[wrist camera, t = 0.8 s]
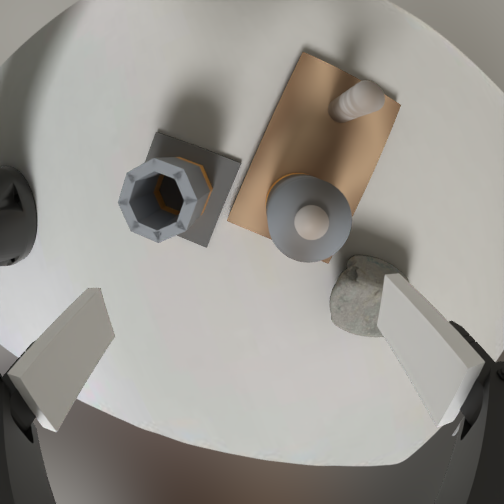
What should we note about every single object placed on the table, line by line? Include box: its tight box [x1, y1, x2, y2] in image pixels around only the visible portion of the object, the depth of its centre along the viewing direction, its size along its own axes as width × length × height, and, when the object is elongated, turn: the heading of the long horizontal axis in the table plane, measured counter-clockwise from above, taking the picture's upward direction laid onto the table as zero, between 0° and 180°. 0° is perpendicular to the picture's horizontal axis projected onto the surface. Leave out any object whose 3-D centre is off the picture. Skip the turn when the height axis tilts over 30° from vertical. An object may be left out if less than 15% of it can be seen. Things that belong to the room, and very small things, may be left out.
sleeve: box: [118, 157, 213, 243], centre depth 26 cm, size 7×7×8 cm
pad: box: [145, 132, 241, 248], centre depth 30 cm, size 10×10×1 cm
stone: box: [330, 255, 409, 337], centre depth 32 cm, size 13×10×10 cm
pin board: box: [227, 52, 401, 263], centre depth 24 cm, size 12×20×10 cm, turn 157°
